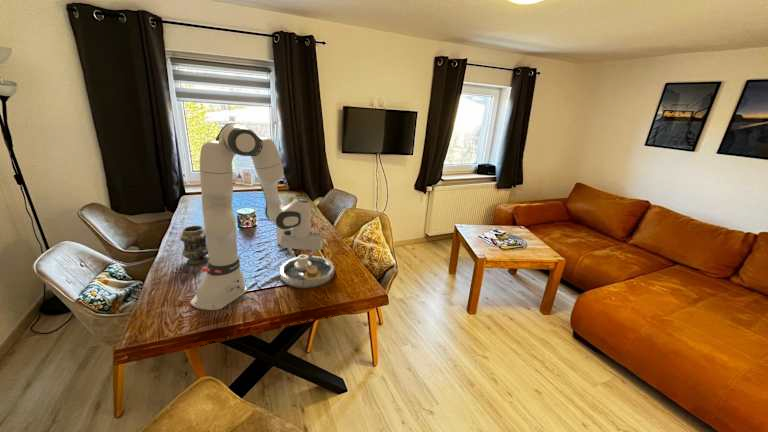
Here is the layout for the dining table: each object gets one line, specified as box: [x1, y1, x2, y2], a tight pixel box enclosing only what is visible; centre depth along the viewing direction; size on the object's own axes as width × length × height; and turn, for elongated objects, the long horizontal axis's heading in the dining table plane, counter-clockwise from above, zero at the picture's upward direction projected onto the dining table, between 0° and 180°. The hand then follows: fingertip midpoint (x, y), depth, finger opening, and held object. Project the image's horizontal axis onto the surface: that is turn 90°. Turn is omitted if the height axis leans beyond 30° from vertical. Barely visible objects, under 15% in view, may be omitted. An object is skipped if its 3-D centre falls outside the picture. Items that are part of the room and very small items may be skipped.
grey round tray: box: [279, 255, 335, 289], centre depth 150 cm, size 26×26×7 cm
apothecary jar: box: [179, 225, 209, 267], centre depth 152 cm, size 12×12×18 cm
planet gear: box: [294, 254, 311, 271], centre depth 155 cm, size 8×8×6 cm
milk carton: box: [275, 225, 284, 246], centre depth 178 cm, size 7×7×19 cm
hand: (301, 256), depth 153 cm, fingers open, 8 cm apart
